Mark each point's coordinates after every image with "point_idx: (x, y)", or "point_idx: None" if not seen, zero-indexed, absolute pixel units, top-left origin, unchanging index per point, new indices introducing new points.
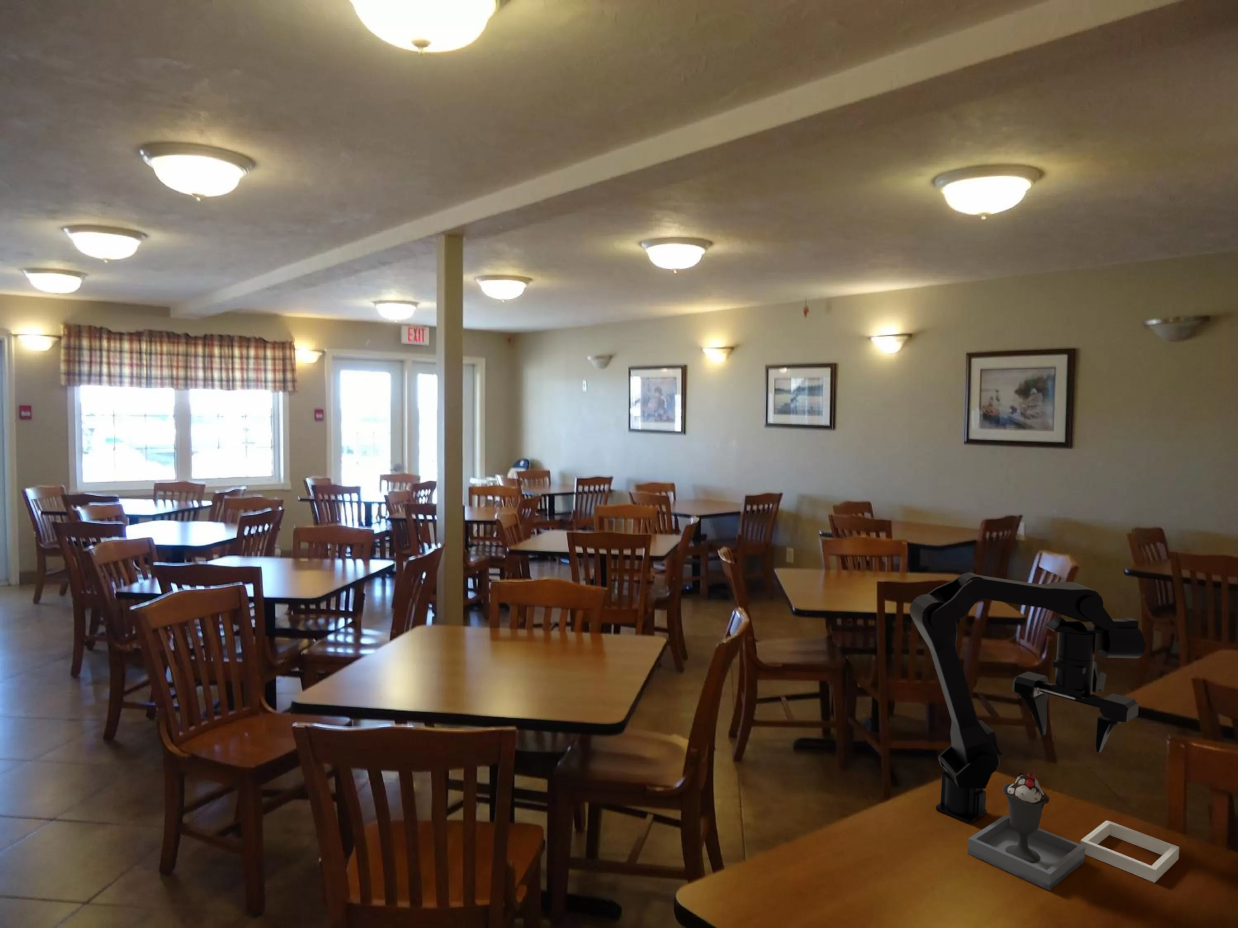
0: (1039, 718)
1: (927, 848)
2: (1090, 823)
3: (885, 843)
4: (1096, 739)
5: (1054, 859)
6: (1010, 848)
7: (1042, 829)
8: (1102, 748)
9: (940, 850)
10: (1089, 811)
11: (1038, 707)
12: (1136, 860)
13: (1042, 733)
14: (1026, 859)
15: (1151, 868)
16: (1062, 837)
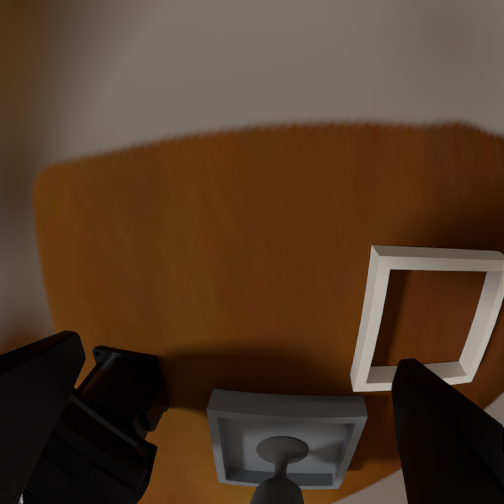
0: (40, 452)
1: (186, 473)
2: (330, 231)
3: (155, 479)
4: (406, 478)
5: (325, 435)
6: (264, 455)
7: (284, 416)
8: (425, 369)
9: (198, 471)
10: (303, 158)
11: (4, 497)
12: (447, 378)
13: (81, 367)
14: (294, 461)
15: (466, 381)
16: (324, 417)
